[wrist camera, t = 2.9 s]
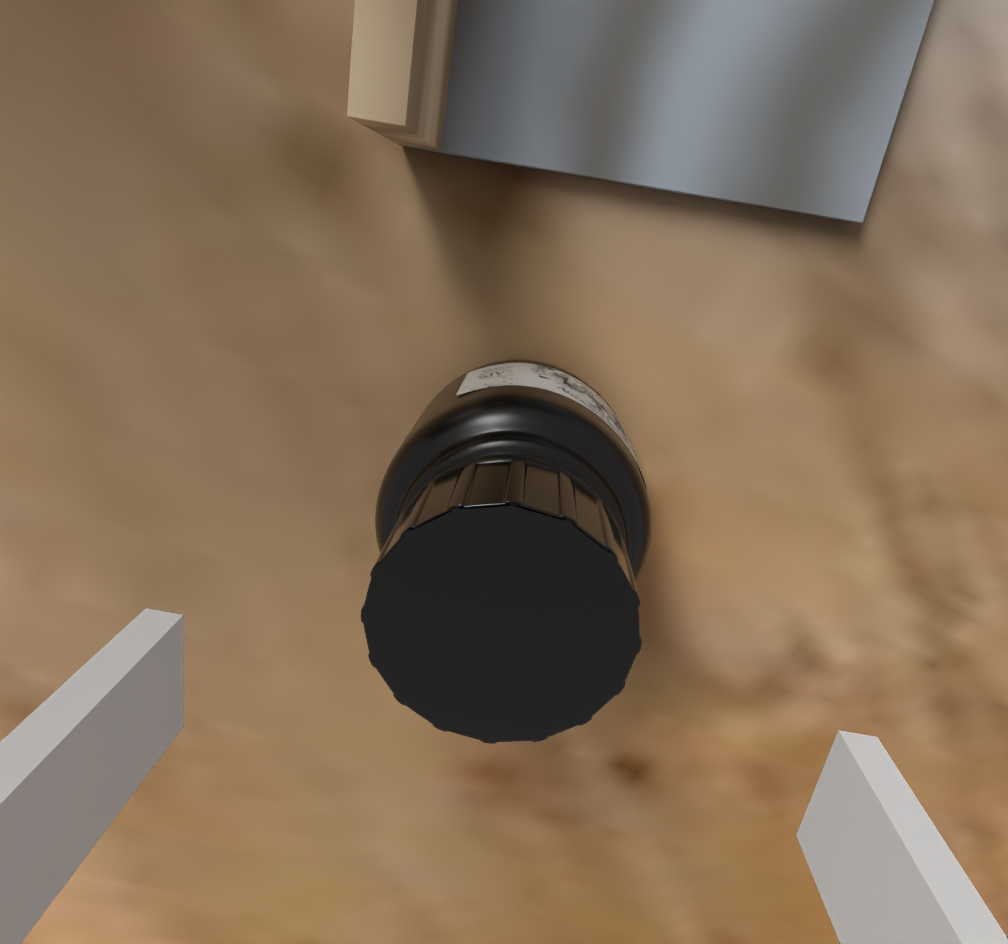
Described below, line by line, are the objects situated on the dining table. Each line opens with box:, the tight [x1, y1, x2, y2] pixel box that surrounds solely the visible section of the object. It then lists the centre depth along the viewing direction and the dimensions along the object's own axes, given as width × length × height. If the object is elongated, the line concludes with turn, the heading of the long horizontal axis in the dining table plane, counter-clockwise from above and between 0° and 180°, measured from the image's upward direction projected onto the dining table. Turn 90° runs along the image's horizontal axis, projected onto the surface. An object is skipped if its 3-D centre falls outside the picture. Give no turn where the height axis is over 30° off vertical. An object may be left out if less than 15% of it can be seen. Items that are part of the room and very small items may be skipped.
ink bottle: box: [361, 360, 651, 743], centre depth 22 cm, size 10×9×12 cm
